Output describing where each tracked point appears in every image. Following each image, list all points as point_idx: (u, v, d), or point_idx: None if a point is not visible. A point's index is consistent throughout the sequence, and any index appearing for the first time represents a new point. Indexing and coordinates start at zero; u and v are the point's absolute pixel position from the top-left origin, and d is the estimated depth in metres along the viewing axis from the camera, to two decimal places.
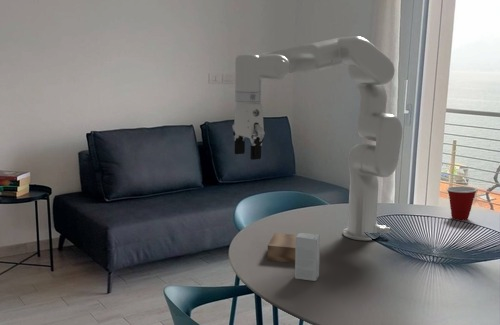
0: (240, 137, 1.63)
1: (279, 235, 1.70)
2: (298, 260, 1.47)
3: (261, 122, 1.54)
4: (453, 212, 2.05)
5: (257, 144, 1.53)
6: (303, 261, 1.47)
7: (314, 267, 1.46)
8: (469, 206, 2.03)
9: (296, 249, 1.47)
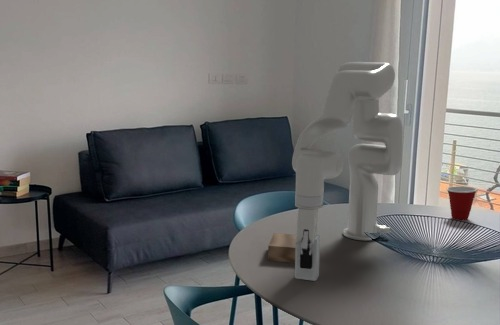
0: None
1: (278, 235, 1.70)
2: (298, 260, 1.47)
3: None
4: (453, 212, 2.05)
5: None
6: None
7: (314, 267, 1.46)
8: (469, 206, 2.03)
9: (296, 249, 1.47)
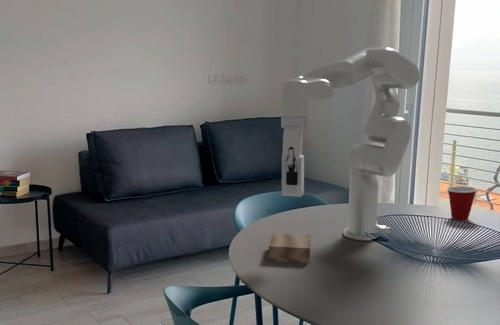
0: None
1: (278, 236, 1.70)
2: (284, 178, 1.60)
3: None
4: (453, 212, 2.05)
5: None
6: None
7: (299, 184, 1.59)
8: (469, 206, 2.03)
9: (282, 168, 1.60)
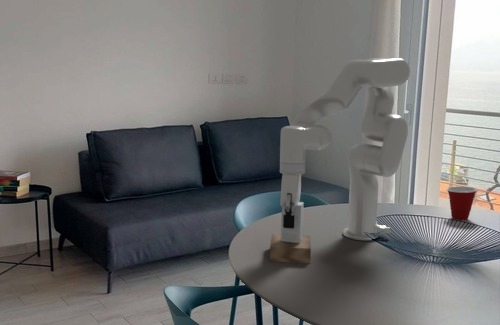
0: None
1: (277, 236, 1.70)
2: None
3: None
4: (453, 212, 2.05)
5: None
6: None
7: (298, 231, 1.62)
8: (469, 206, 2.03)
9: (282, 214, 1.63)
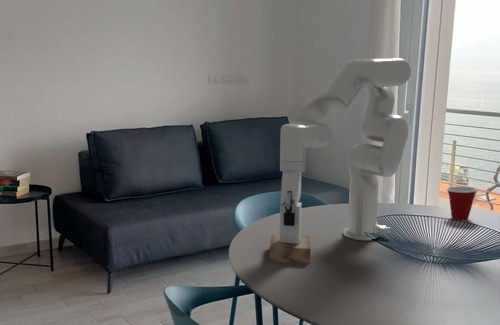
0: None
1: (277, 236, 1.70)
2: (282, 225, 1.63)
3: None
4: (453, 212, 2.05)
5: None
6: (287, 226, 1.62)
7: (297, 232, 1.62)
8: (469, 206, 2.03)
9: (280, 216, 1.62)
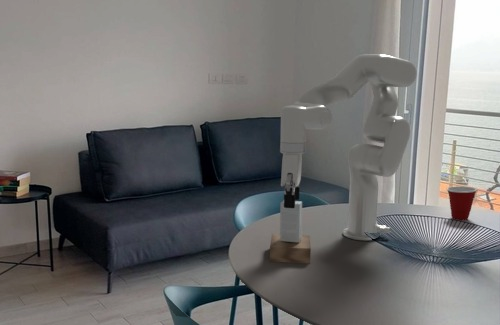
0: None
1: (277, 236, 1.69)
2: (282, 224, 1.64)
3: None
4: (453, 212, 2.05)
5: None
6: (287, 224, 1.63)
7: (298, 230, 1.63)
8: (469, 206, 2.03)
9: (281, 214, 1.64)
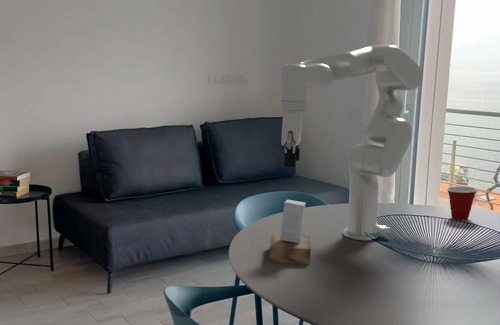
0: None
1: (277, 236, 1.69)
2: (284, 223, 1.63)
3: None
4: (453, 212, 2.05)
5: None
6: (289, 224, 1.63)
7: (299, 231, 1.62)
8: (469, 206, 2.03)
9: (284, 213, 1.63)
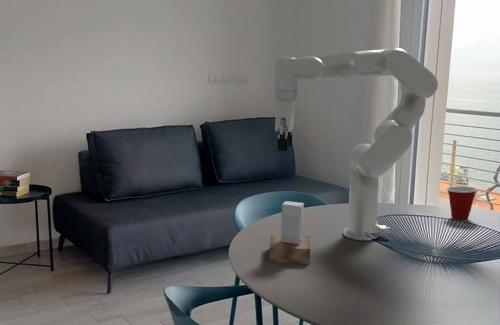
0: None
1: (276, 237, 1.69)
2: (283, 225, 1.63)
3: None
4: (453, 212, 2.05)
5: None
6: (288, 226, 1.62)
7: (298, 232, 1.61)
8: (469, 206, 2.03)
9: (282, 215, 1.62)
